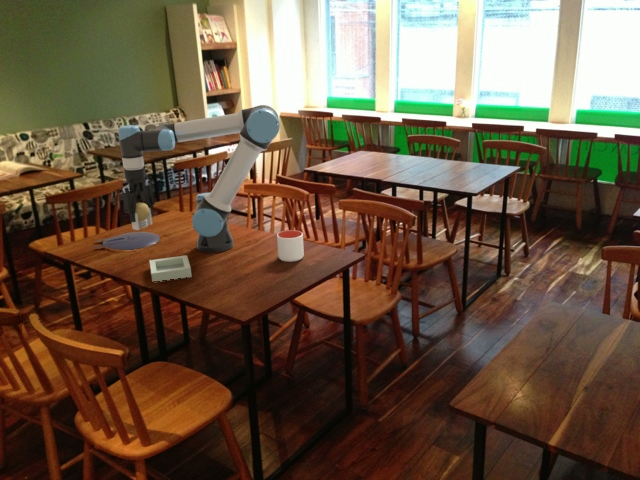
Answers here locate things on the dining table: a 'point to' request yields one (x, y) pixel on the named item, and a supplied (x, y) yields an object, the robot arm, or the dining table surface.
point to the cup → (290, 245)
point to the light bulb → (142, 214)
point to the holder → (170, 268)
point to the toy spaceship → (130, 241)
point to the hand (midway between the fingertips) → (142, 226)
